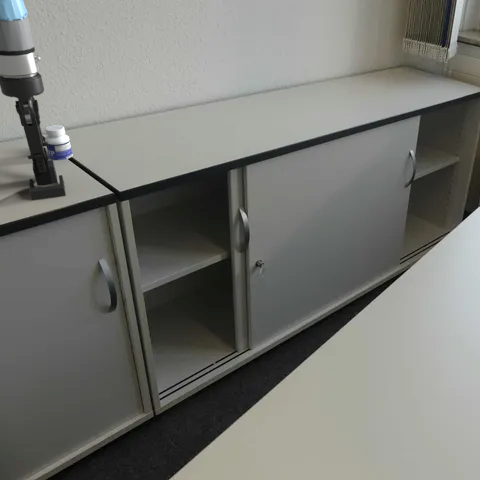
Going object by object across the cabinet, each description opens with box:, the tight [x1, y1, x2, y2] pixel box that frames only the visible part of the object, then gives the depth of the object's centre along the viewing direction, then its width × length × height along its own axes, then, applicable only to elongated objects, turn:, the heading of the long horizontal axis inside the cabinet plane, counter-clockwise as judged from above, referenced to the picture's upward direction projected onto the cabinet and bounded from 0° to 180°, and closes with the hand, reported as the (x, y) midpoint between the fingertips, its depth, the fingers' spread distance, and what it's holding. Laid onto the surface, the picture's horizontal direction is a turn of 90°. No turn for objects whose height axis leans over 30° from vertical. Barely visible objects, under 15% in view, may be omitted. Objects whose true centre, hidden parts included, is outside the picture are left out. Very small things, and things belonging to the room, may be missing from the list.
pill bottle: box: [44, 124, 74, 161], centre depth 132 cm, size 5×5×9 cm
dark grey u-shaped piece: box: [28, 174, 67, 201], centre depth 120 cm, size 7×7×2 cm
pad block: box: [32, 159, 59, 187], centre depth 119 cm, size 4×4×4 cm
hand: (45, 179), depth 120 cm, fingers closed on pad block, 4 cm apart
